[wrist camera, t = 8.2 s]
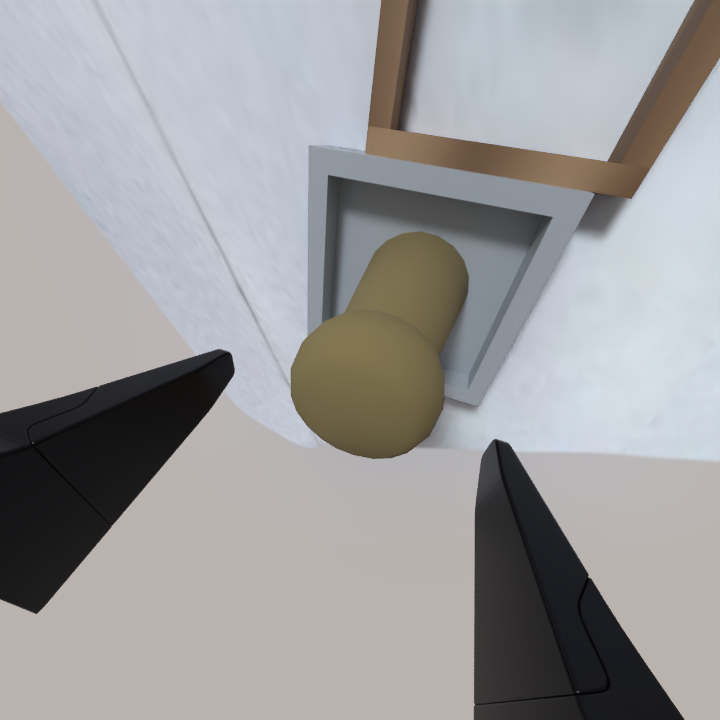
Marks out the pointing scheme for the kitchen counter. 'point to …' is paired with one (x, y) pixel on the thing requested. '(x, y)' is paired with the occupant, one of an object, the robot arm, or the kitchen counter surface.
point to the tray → (453, 224)
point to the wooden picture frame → (616, 177)
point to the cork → (384, 351)
